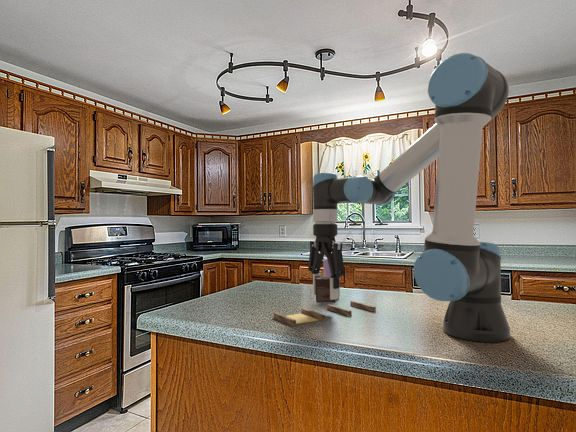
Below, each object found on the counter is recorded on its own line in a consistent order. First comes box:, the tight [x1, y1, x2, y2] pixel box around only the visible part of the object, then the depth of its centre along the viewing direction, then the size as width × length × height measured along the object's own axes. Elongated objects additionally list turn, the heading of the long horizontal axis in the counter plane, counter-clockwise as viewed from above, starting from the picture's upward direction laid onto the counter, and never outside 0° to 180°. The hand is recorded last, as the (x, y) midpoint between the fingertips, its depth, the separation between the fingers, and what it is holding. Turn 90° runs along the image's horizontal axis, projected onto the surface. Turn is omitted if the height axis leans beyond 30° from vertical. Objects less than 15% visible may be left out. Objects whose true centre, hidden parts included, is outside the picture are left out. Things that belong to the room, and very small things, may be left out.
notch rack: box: [273, 300, 377, 327], centre depth 114 cm, size 11×31×2 cm, turn 121°
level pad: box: [286, 312, 319, 326], centre depth 109 cm, size 9×8×1 cm
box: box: [315, 275, 337, 304], centre depth 114 cm, size 6×6×7 cm
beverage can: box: [322, 257, 341, 298], centre depth 139 cm, size 6×6×15 cm
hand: (325, 296), depth 114 cm, fingers closed on box, 8 cm apart
